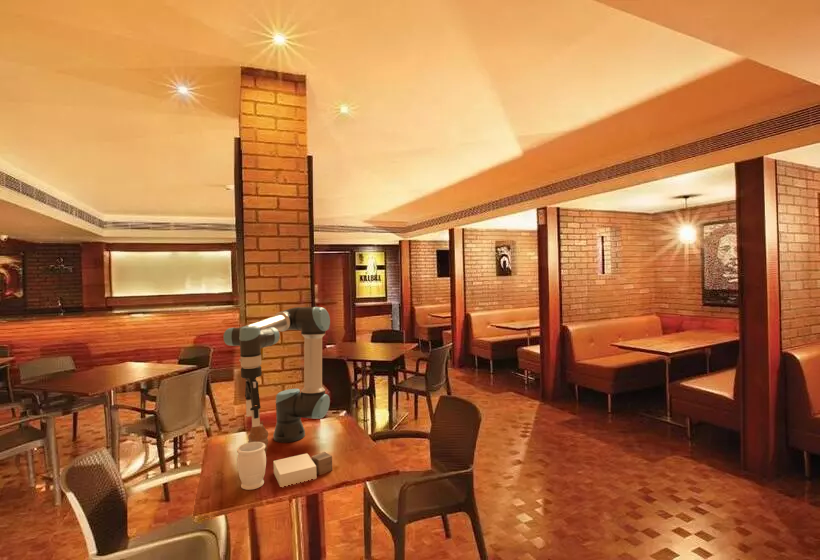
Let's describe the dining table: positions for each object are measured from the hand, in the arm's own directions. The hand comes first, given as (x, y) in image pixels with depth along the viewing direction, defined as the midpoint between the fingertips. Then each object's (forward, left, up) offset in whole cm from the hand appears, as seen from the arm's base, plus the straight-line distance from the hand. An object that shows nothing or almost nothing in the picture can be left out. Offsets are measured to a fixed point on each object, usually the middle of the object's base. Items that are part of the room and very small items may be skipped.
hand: (253, 421), depth 167 cm
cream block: (+1, +15, -25) cm, 29 cm away
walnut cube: (+2, +26, -25) cm, 36 cm away
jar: (0, -1, -25) cm, 25 cm away
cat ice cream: (-18, +4, -25) cm, 31 cm away
